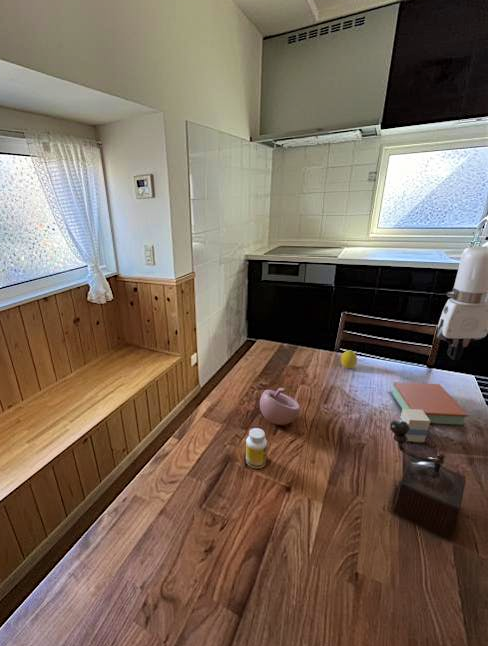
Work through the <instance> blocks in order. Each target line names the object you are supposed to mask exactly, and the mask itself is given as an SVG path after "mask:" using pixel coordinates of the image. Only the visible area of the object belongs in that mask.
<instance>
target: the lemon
mask: <svg viewBox="0 0 488 646" xmlns="http://www.w3.org/2000/svg"><path fill="white" fill-rule="evenodd" d="M357 363H358V356H357V354H356V352H355V351H352V350H351V349H349V350H346V351H344V352H343V353H342V354H341V357H340V364H341V366H342V367H343V368H345V369H347V370H349V369H352V368H354V367H355V366H356V365H357Z"/></svg>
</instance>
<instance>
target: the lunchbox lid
mask: <svg viewBox="0 0 488 646" xmlns="http://www.w3.org/2000/svg"><path fill="white" fill-rule="evenodd" d="M393 385H394V386H395V387H396V389H397V390H398V392H399V393H400V394H401V396H402V397H403V399H404V400H405V402H406V403H407V405H408V406H409V407H410V409H419V410H423V411H424V413H425V414H426V415H438V416H457V417H465V418H468V413H467V412H466V411H465V410H464V409H463V408H462V407H461V406H460V405H459V404H458V402H456V400H455V399H454V398H453V397H452V396H451V395H450V394H449V393H448V392H447V390H445V389H444V387H443V386H442V385H441V384H440V383H423V382H422V383H420V382H393Z"/></svg>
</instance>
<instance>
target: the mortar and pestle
mask: <svg viewBox="0 0 488 646" xmlns="http://www.w3.org/2000/svg"><path fill="white" fill-rule="evenodd" d="M286 391H287V388H286V387H279V388H278V389H277V390H272V389H264V391H263V392H262V394H261V396H260V398H259V409H260V412H261V414H262V416H263V417H264V418H265V419H266V421H268V422H269V423H272V424H274V425H278V426H285V425H288V424H290V423H292V422H293V421H295V420H296V418H297V417H298V415H299V413H300V410H301V406H300V404H299V403H298V401H297V400H296V399H294V398H293V397H292V396H290V395H288V394H284V393H285V392H286ZM282 392H284V393H282Z"/></svg>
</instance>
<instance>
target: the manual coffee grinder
mask: <svg viewBox="0 0 488 646" xmlns="http://www.w3.org/2000/svg"><path fill="white" fill-rule="evenodd" d="M389 428H390V431H391V432H392V433H393V434H394V435H393V440H394V441H395V442H397V446H398V449H399V451H400V452H402V453H403V454H404V455H407V456H409V457H410V458H409V460H408V462H407V464H406V467H405V469H404V472H403V473H402V477H401V483H400V486H399V489H398V492H397V495H396V498H395V500H394V505H393V513H394V514H395V515H397V516H399V517H400V518H403V519H405V520H407V521H409V522H411V523H413V524H415V525H417V526H419V527H421V528H423V529H425V530H427V531H430V532H432V533H433V534H435V535H438V536H441V537H442V538H444V539H446V540H450V538H451V535H452V533H453V529H454V527H455V524H456V521H457V518H458V515H459V512H460V510H461V506H462V504H463V499H464V492H465V488H466V475H463V474H460V473H458V472H456V471H454V470H450V469H448V468H446V467H444V466H443V464H444V463H445V458H446V456H445V454H444V453H443V452H438V453H437V454H436V457H430V456H424V455H421V454H418V453H414V452H411V451H409V450H407V449H406V448H405V446H404V443H405V442H408V441H407V440H408V439H407V437H406V434H407V432H408V431H409V429H410V427H409V425H408V424H407V422H404V421H401V420H400V419H395V420H393V421H391V422H390V424H389Z"/></svg>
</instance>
